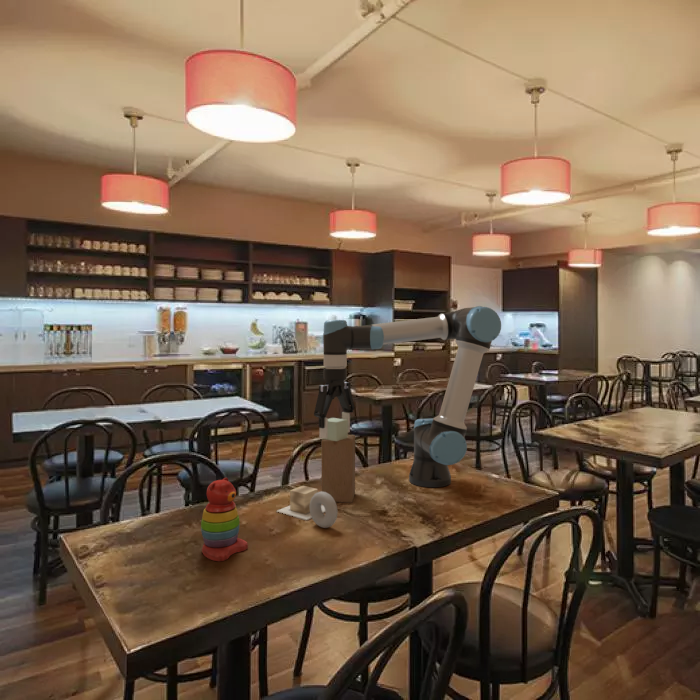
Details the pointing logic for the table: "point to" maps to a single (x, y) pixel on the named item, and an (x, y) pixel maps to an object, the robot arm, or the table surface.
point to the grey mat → (297, 513)
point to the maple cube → (301, 499)
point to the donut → (329, 506)
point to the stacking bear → (221, 522)
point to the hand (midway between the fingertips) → (335, 434)
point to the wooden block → (339, 468)
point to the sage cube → (337, 429)
